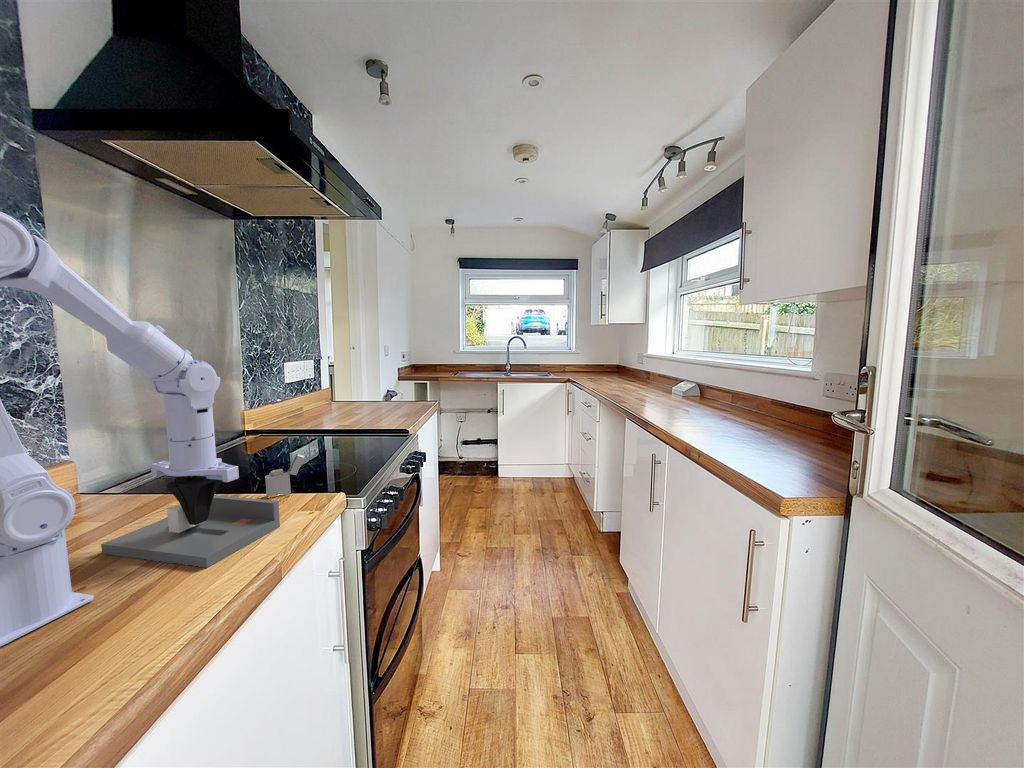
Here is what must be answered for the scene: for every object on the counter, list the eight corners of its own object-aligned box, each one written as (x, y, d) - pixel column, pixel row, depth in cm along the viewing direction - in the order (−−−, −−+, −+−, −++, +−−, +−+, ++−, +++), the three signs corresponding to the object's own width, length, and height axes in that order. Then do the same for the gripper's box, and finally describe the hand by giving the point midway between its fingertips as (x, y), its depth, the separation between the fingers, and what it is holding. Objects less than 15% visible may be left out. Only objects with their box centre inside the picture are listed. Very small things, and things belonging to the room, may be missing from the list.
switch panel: (207, 568, 55) (204, 536, 55) (102, 553, 59) (98, 524, 59) (279, 526, 68) (278, 500, 68) (189, 517, 72) (187, 492, 72)
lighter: (267, 498, 81) (265, 459, 80) (266, 496, 82) (264, 457, 81) (306, 490, 85) (304, 453, 84) (305, 488, 86) (302, 452, 85)
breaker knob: (179, 532, 62) (177, 510, 61) (168, 531, 62) (166, 509, 62) (204, 521, 66) (202, 500, 65) (194, 520, 66) (192, 499, 66)
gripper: (252, 433, 64) (258, 515, 66) (180, 430, 67) (187, 508, 69) (211, 444, 57) (218, 535, 59) (132, 439, 61) (141, 526, 62)
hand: (198, 522), depth 63 cm, fingers closed
